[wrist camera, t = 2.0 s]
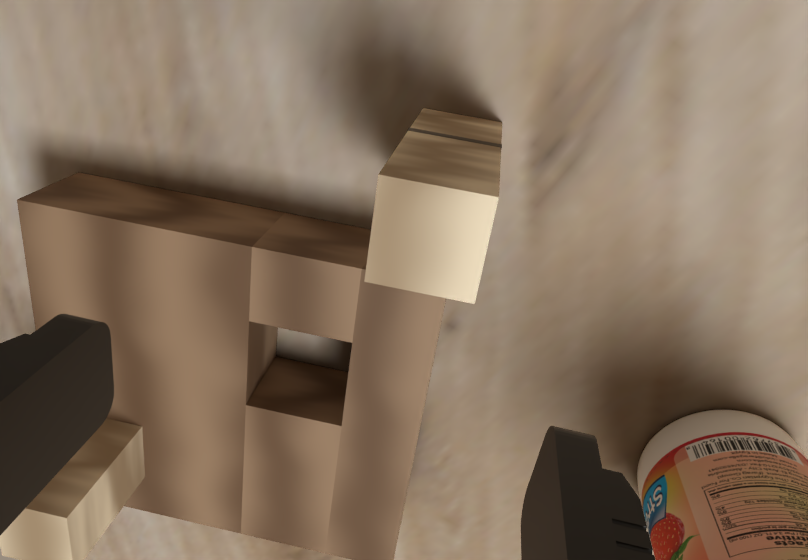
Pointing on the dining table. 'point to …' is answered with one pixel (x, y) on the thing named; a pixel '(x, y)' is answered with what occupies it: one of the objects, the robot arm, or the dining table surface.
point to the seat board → (227, 371)
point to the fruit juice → (725, 489)
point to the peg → (436, 206)
